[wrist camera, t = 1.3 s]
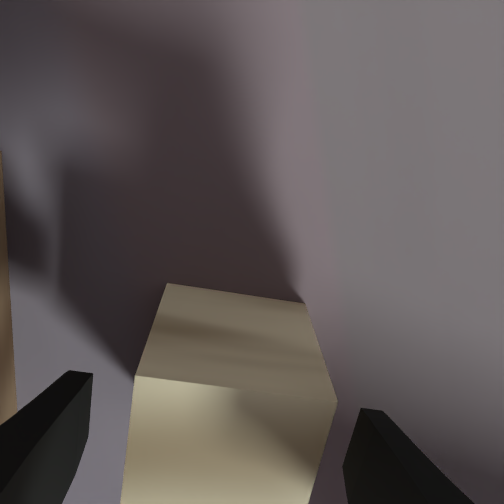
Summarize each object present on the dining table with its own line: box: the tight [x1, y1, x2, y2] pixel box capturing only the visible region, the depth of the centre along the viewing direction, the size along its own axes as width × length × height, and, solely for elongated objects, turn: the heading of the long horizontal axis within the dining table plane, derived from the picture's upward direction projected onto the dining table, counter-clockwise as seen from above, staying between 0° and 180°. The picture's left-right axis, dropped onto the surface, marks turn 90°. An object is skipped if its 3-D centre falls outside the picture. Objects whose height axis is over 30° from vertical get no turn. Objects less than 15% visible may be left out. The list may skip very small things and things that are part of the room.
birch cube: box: [120, 283, 338, 504], centre depth 13 cm, size 4×4×5 cm
